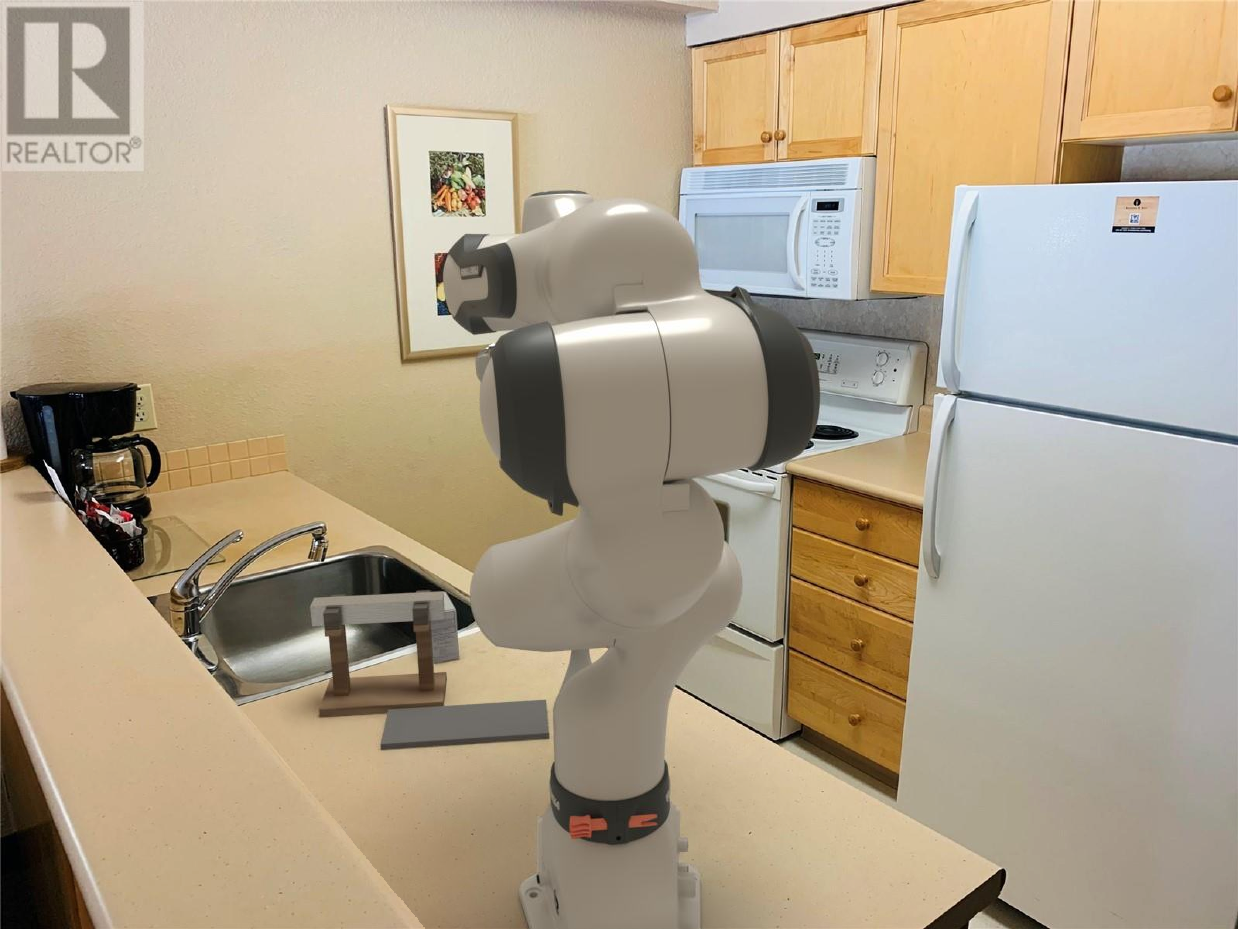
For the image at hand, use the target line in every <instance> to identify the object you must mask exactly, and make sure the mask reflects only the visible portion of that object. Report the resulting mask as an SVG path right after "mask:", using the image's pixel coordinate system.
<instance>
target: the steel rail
mask: <svg viewBox="0 0 1238 929" xmlns="http://www.w3.org/2000/svg"><path fill="white" fill-rule="evenodd" d="M444 592H445V591H431V592H421V593H416V592H403V593H387V594H386V593H385V594H384V593H383V594H366V595H365V594H364V595H362V594H361V595H346V596H340V597H331V596H325V597H324V596H322V597H314V598H313V600H312V601H311V603H310V606H309V609H310V618H311V627H324V617H323V612H324V610H325V609H337V608H340V616H341V625H345V626H346V625H361V624H363V625H364V624H379V623H380V624H381V623H384V624H385V623H398V622H399V623H400V622H413V610H412V608H413V605H415V604H428V614H429V620H441V619H444V612H445V607H444Z"/></svg>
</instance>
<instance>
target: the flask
mask: <svg viewBox="0 0 1238 929" xmlns="http://www.w3.org/2000/svg"><path fill="white" fill-rule="evenodd" d="M591 658H592V657H591V654H590V649H582V650H570V657H569V661H568V666H567V668H566V672H565V675H564V677H563V681H562V684H561V686H560V688H559V691H558V693H559V692H560V690H561V689H562V687H563V686H564V685H565V683H566V682H567V681H568V680H569V679H570V678H571V677H572V676H573V675H574V674H576V673H577V672H579V671H580V670H582V669H584V668H585V667H587V666H589V665H590V664H592V663H593V661H592V659H591Z"/></svg>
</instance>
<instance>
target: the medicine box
mask: <svg viewBox="0 0 1238 929" xmlns="http://www.w3.org/2000/svg"><path fill="white" fill-rule="evenodd" d="M444 607H445V612H444V619H441V620H431V631H432V647H433V664H439V663H446V662H450V661H456V660H459V659H460V647H459V645H460V644H459V633H458V620H457V618H458V617H457V610H456V607H455V605H454V604H453V602H452V600H451V599H450V597H449V595H448V593H447V592H446V591H444Z"/></svg>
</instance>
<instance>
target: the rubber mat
mask: <svg viewBox="0 0 1238 929" xmlns="http://www.w3.org/2000/svg"><path fill="white" fill-rule="evenodd" d="M548 716H549V715H548V705H547V699H535V700H534V699H533V700H518V701H503V702H502V701H500V702H487V703H486V702H485V703H484V702H483V703H471V704H470V703H469V704H468V703H467V704H454V705H444V706H435V707H419V708H403V709H388V713H386V719H385V722H384V727H383V731H382V736H381V740H380V750H392V749H393V750H394V749H396V750H397V749H408V748H424V747H438V746H453V745H468V744H469V745H470V744H484V743H486V744H487V743H496V742H497V743H498V742H512V741H513V742H514V741H526V740H543V739H550V727H549V718H548Z"/></svg>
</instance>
